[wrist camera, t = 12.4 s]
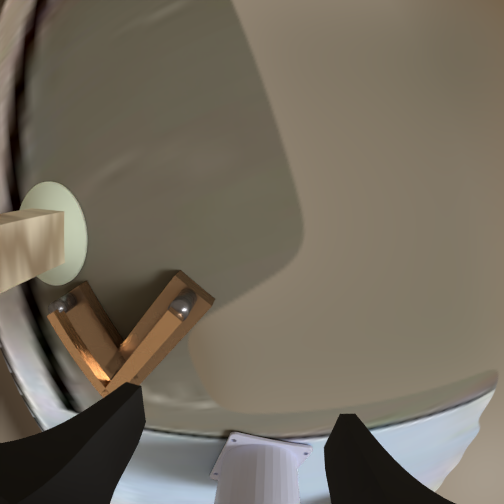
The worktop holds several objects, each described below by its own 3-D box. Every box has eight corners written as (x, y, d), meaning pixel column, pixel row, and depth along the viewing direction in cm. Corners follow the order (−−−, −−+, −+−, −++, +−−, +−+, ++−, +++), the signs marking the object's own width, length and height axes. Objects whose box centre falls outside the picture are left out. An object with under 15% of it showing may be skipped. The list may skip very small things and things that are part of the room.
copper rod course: (184, 403, 21) (172, 437, 17) (65, 350, 21) (41, 373, 17) (219, 283, 19) (207, 309, 15) (71, 229, 18) (35, 240, 14)
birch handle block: (64, 262, 19) (-8, 297, 11) (32, 255, 19) (-36, 283, 11) (64, 211, 18) (-16, 228, 10) (31, 208, 18) (-42, 223, 10)
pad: (82, 299, 20) (80, 300, 19) (17, 264, 19) (15, 265, 19) (96, 194, 18) (94, 194, 17) (26, 173, 18) (24, 173, 17)
